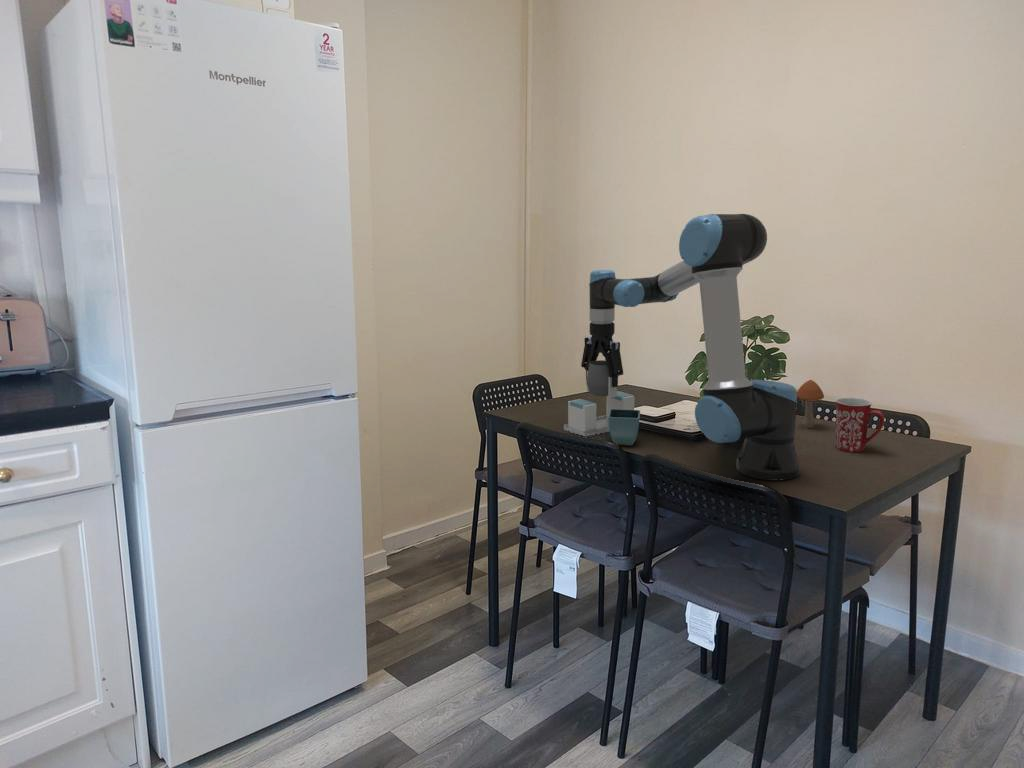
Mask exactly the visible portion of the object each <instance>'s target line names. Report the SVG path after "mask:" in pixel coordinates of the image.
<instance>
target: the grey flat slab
mask: <svg viewBox="0 0 1024 768" xmlns="http://www.w3.org/2000/svg"><path fill="white" fill-rule="evenodd" d="M563 431H566V432H568V431H569V432H568V433H571V434H573V433H575V434H574V435H576V434H579V435H583V436H589V435H593V436H596V435H595V434H597V435H601V434H600V433H602V434H606V433H610V431H609V421H608V418H606V415H600V416H596V429H592V430H587V431H583V432H582V431H580V430H577V429H574V428H571V427H569V426H568V423H565V424H563ZM605 432H606V433H605ZM579 435H578V436H579ZM589 437H590V436H589Z"/></svg>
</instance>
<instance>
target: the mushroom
mask: <svg viewBox="0 0 1024 768" xmlns="http://www.w3.org/2000/svg"><path fill="white" fill-rule="evenodd" d="M824 398H825V395H824V392H823V390H822V389H821V387H820V386H819V384H818V383H816V381H814V380H812V379H808V380H807V381H805V382H804V383H803V384H801V386H800V387H799V388H798V390H797V399H800V400H803V401H804V404H805V405H804V406H805V407H804V408H805V410H804V411H805V412H804V418H803V426H804V428H807V429H810V428H811V429H813V428H814V426H815V424H816V423H815V416H814V412H813V408H814V407H813V406H814V405H813V402H814V401H821V400H822V399H824Z"/></svg>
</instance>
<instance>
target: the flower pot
mask: <svg viewBox="0 0 1024 768" xmlns="http://www.w3.org/2000/svg"><path fill="white" fill-rule="evenodd" d="M640 416H641V410H640V409H634V410H622V409H610V412H609V416H608V421H609V431H610V432H609V436H610V438H611V441H612V443H614V442H615V443H618V444H628V445H627V446H633V445H634V443H635V441H636V440H637V437H638V433H639V426H640V418H641V417H640Z"/></svg>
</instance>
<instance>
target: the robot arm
mask: <svg viewBox="0 0 1024 768" xmlns="http://www.w3.org/2000/svg"><path fill="white" fill-rule="evenodd" d="M678 243H679V244H678V250H679V256H680V258H681V261H680V262H678V263H676V264H673V265H672V266H671V267H668V268H667V269H666V270H664V271H662V272H660V273H659V274H657V275H655V276H650V277H648V276H647V277H637V278H636V277H635V278H617V277H616V272H615V271H614V270H612V269H596V270H592V271H591V272H590V274H589V283H588V286H589V314H588V315H589V319H588V320H589V321H590V323H589V335H590V336H587V337H584V341H583V342H584V347H583V352H582V357H581V362H580V363H581V365H580V366H581V368H584V370H585V381H587V375H588V369H589V363H590V362H592V361H598V357H599V355H600V354H602V357H604V359H605V361H606V363H607V366H608V369H609V372H610V376H609V382H608V398H613V397H617V391H618V387H619V386H618V385H619V376H623V375H624V369H623V362H622V355H621V342H619V341H617V342H616V341H614V340H613V336H614V335H615V332H616V331H615V328H616V327H615V322H614V321H615V317H616V316H615V315H616V314H615V311H616V310H615V307H616V306H620V307H624V308H634V307H637V306H639V305H645V304H653V303H666V302H672V301H674V300H676V299H677V296H679V294H680V293H681V292H684V291H685V290H688V289H690V288H692V287H693V286H696V285H697V284H699V291H700V302H701V313H702V323H703V333H704V346H705V354H706V355H705V356H706V366H707V367H706V368H707V376H708V380H707V382H706V383H705V384H704V385H703V387H702V393H703V396H702V397H701V398H700V399H698V401H697V404H695V408H694V417H695V420H696V424H697V426H698V429H699V431H701V433H702V434H704V436H705V438H707V439H708V440H710V441H711V442H714V443H718V444H723V443H734V442H737V441H741V440H744V441H743V444H742V446H741V449H740V450H739V454H738V455H737V457H736V466H735V467H736V470H737V471H738V472H739V473H740V474H742V475H744V476H746V477H750V478H754V479H757V478H760V479H759V480H763V479H777V480H776V481H781V480H780V479H788V480H791V479H790V478H792V479H794V477H795V478H797V477H798V476H799V474H800V462H799V457H798V454H797V451H796V446H795V432H796V418H797V405H798V397H797V391H798V390H797V389H796V387H795V386H794V385H791V384H789V383H785V382H781V381H776V380H775V381H773V380H769V379H768V380H766V379H749V378H747V376H746V367H745V355H744V345H743V342H744V341H743V333H742V332H743V331H742V324H741V310H740V300H739V299H740V298H739V289H738V288H739V287H738V278H737V277H738V275H739V274H740V272H742V270H743V266H744V265H747V264H748V263H750V262H752V261H754V260H756V259H757V258H759V257H760V255H762V253H763V252H764V251H765V248H766V246H767V243H768V233H767V229H766V227H765V225H764V224H763V222H762V221H761V220H760V219H759V218H758V217H756V216H754V215H751V214H748V213H729V214H727V213H726V214H725V213H724V214H723V213H719V214H718V213H715V214H714V213H710V214H703V215H697V216H696V217H692V218H691V219H690V220H689V221H688V222H687V223H686V224H685V227H684V228H683V229H682V231H681V233H680V237H679V240H678ZM586 392H589V393H590V390H589V388H588V386H587V385H586ZM796 476H797V477H796Z"/></svg>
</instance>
